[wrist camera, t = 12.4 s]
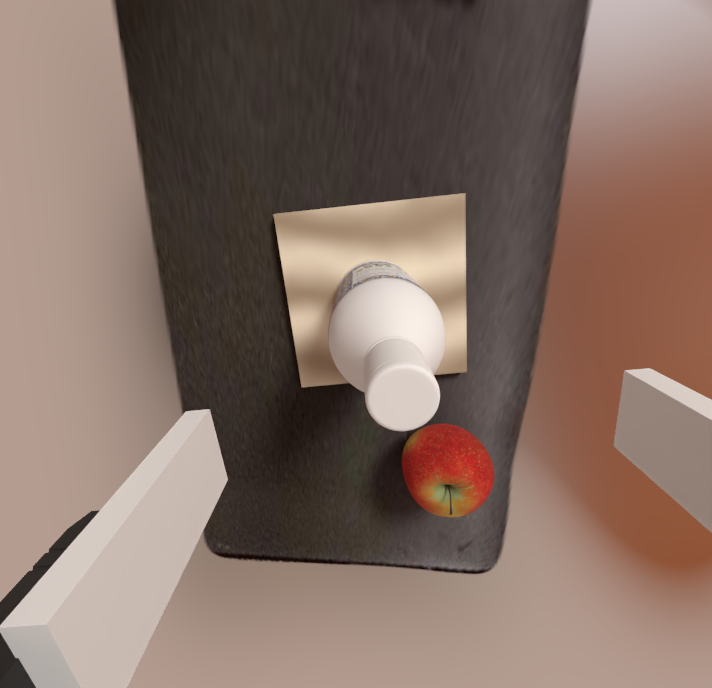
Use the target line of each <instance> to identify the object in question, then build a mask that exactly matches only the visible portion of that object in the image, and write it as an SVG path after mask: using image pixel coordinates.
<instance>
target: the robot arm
mask: <svg viewBox="0 0 712 688" xmlns="http://www.w3.org/2000/svg"><path fill="white" fill-rule="evenodd" d="M614 447H615V448H616V449H617V450H618V451H620V452H621V453H622V454H623V455H624V456H625V457H627V458H628V459H629V460H630V461H631V462H632V463H633V464H634V465H635V466H637V467H638V468H639V469H640V470H641V471H642V472H644V473H645V474H646V475H647V476H648V477H649V478H650V479H651V480H653V481H654V482H655V483H656V484H657V485H658V486H659V487H660V488H662V489H663V490H664V491H665V492H666V493H667V494H668V495H669V496H671V497H672V498H673V499H674V500H675V501H676V502H677V503H679V504H680V505H681V506H682V507H683V508H684V509H685V510H686V511H688V512H689V513H690V514H691V515H692V516H693V517H694V518H695V519H697V520H698V521H699V522H700V523H701V524H702V525H703V526H704V527H706V528H707V529H708V530H709V531H710V532H712V400H711V399H709V398H707V397H705V396H702V395H701V394H699V393H697V392H695V391H693V390H691V389H689V388H687V387H685V386H683V385H681V384H679V383H678V382H676V381H673V380H672V379H670V378H668V377H666V376H664V375H662V374H660V373H658V372H656V371H654V370H652V369H650V368H646V369H635V370H625V371H624V377H623V384H622V391H621V398H620V405H619V411H618V418H617V425H616V432H615V440H614ZM227 480H228V478H227V475H226V471H225V467H224V463H223V459H222V455H221V451H220V448H219V444H218V440H217V436H216V432H215V428H214V424H213V421H212V417H211V413H210V409H206V410H196V411H186V412H185V413H184V414H183V416H182V417H181V418H180V419H179V420H178V421H177V423H176V424H175V425H174V426H173V427H172V428H171V429H170V431H169V432H168V433H167V434H166V435H165V436H164V437H163V439H162V440H161V441H160V442H159V443H158V444H157V446H156V447H155V448H154V449H153V450H152V451H151V452H150V454H149V455H148V456H147V457H146V458H145V460H143V462H142V463H141V464H140V465H139V466H138V467H137V469H136V470H135V471H134V472H133V473H132V474H131V475H130V477H129V478H128V479H127V480H126V481H125V482H124V483H123V485H122V486H121V487H120V488H119V489H118V490H117V492H116V493H115V494H114V495H113V496H112V497H111V498H110V500H109V501H108V502H107V503H106V504H105V505H104V507H103V508H102V509H101V510H100V511H91V512H90V513H89V514H87V515H86V516H85V517H83V518H82V519H81V520H79V521H78V522H76V523H75V524H74V525H72V526H71V527H70V528H68V529H67V530H66V531H65V532H64V534H63V535H62V536H61V537H60V538H59V539H58V540H57V541H56V542H55V543H54V545H53V546H52V547H51V548H50V549H49V552H48V553H45V554H44V555H43V556H42V557H41V559H40V560H39V561H38V562H37V563H36V564H35V565H34V566H33V570H32V571H29V572H28V573H27V574H26V575H25V576H24V577H23V578H22V579H21V580H20V581H19V582H18V583H17V585H16V586H15V587H14V588H13V589H12V590H11V591H10V592H9V593H8V594H7V596H6V597H5V598H4V599H3V600H2V601H1V602H0V688H127V687H128V685H129V683H130V681H131V679H132V676H133V675H134V672H135V670H136V668H137V666H138V664H139V662H140V660H141V658H142V656H143V654H144V652H145V650H146V647H147V646H148V644H149V641H150V639H151V637H152V635H153V633H154V631H155V629H156V627H157V625H158V623H159V621H160V619H161V617H162V615H163V612H164V611H165V608H166V606H167V604H168V602H169V600H170V598H171V596H172V594H173V592H174V590H175V588H176V586H177V584H178V582H179V579H180V577H181V575H182V573H183V571H184V569H185V567H186V565H187V563H188V561H189V559H190V557H191V555H192V553H193V550H194V549H195V546H196V544H197V542H198V540H199V538H200V536H201V534H202V532H203V530H204V528H205V526H206V524H207V522H208V520H209V518H210V516H211V513H212V511H213V509H214V507H215V505H216V503H217V501H218V499H219V497H220V495H221V493H222V491H223V489H224V487H225V485H226V482H227Z"/></svg>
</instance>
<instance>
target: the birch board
mask: <svg viewBox="0 0 712 688" xmlns="http://www.w3.org/2000/svg"><path fill="white" fill-rule="evenodd" d="M274 221H275V227H276V233H277V239H278V245H279V251H280V258H281V264H282V270H283V276H284V282H285V288H286V294H287V301H288V307H289V313H290V319H291V325H292V331H293V337H294V344H295V350H296V356H297V362H298V368H299V374H300V381H301V387H313V386H323V385H334V384H344V383H349V382H348V381H347V380H346V379H345V378H344V377H343V376H342V374H341V373H340V372H339V370H338V368H337V367H336V365H335V363H334V361H333V358H332V355H331V352H330V348H329V342H328V327H329V322H330V318H331V314H332V310H333V306H334V302H335V298H336V294H337V291H338V288H339V285H340V282H341V280H342V279H343V277H344V276H345V274H346V273H347V272H348V271H349V270H350V269H351V268H353V267H354V266H356V265H357V264H359V263H361V262H364V261H368V260H376V259H377V260H385V261H389V262H392V263H394V264H396V265H398V266H399V267H400V268H402V269H403V270H404V271H405V272H406V273H407V274H408V275H409V276H410V277H411V278H412V279H413V280H415V281H416V282H417V283H418V284H419V285H420V286H421V287H422V288H423V289H424V290H425V291H426V293H427V294H428V295H429V296H430V297H431V298H432V300H433V301H434V302H435V304H436V305H437V307H438V309H439V311H440V313H441V316H442V319H443V322H444V326H445V334H446V342H445V350H444V354H443V358H442V360H441V363H440V365H439V367H438V369H437V370H436V372H435V373H434V375H440V374H450V373H461V372H467V345H466V223H465V193H463V194H454V195H445V196H435V197H426V198H417V199H408V200H399V201H389V202H380V203H371V204H362V205H353V206H343V207H334V208H325V209H316V210H307V211H297V212H288V213H279V214H274Z"/></svg>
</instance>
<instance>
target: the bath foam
mask: <svg viewBox="0 0 712 688" xmlns="http://www.w3.org/2000/svg"><path fill="white" fill-rule="evenodd" d="M328 342H329V348H330V352H331V355H332V358H333V361H334V363H335V365H336V367H337V368H338V370H339V372H340V373H341V374H342V376H343V377H344V378H345V379H346V380H347V381H348V382H349V383H350V384H352V385H353V386H354V387H356V388H357V389H359V390H360V391H362V392H365V401H366V406H367V409H368V411H369V413H370V415H371V416H372V418H373V419H374V420H375V421H376V422H377V423H379V424H380V425H381V426H383V427H385V428H387V429H390V430H394V431H409V430H413V429H416V428H418V427H420V426H422V425H424V424H425V423H427V422H428V421H429V420H430V419H431V418H432V417H433V415H434V414H435V412H436V410H437V408H438V405H439V401H440V390H439V386H438V383H437V381H436V379H435V377H434V373H435V372H436V370H437V369H438V367H439V365H440V363H441V360H442V358H443V354H444V350H445V342H446V334H445V326H444V322H443V319H442V316H441V313H440V311H439V309H438V307H437V305H436V304H435V302H434V301H433V300H432V298H431V297H430V296H429V295H428V294H427V293H426V291H425V290H424V289H423V288H422V287H421V286H420V285H419V284H418V283H417V282H416V281H415V280H413V279H412V278H411V277H410V276H409V275H408V274H407V273H406V272H405V271H404V270H403V269H402V268H400V267H399V266H398V265H396V264H394V263H392V262H389V261H385V260H377V259H376V260H368V261H364V262H361V263H359V264H357V265H356V266H354V267H353V268H351V269H350V270H349V271H348V272H347V273H346V274H345V276H344V277H343V279H342V280H341V282H340V285H339V288H338V291H337V294H336V298H335V302H334V306H333V310H332V314H331V318H330V322H329V327H328Z"/></svg>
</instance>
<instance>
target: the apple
mask: <svg viewBox="0 0 712 688" xmlns="http://www.w3.org/2000/svg"><path fill="white" fill-rule="evenodd" d="M402 469H403V475H404V479H405V482H406V485H407V487H408V489H409V491H410V493H411V495H412V496H413V498H414V499H415V501H416V502H417V503H418V504H419V505H420V506H421V507H422V508H424V509H425V510H427V511H428V512H430V513H432V514H435V515H438V516H443V517H460V516H464V515H467V514H469V513H471V512H473V511H474V510H476V509H477V508H478V507H480V506H481V505H482V504H483V503H484V501H485V500H486V499H487V498H488V496H489V494H490V492H491V490H492V487H493V484H494V468H493V463H492V460H491V458H490V456H489V454H488V452H487V450H486V449H485V447H484V446H483V445H482V443H481V442H480V441H479V440H478V439H477V438H476V437H475V436H474V435H472V434H471V433H469V432H468V431H466V430H464V429H462V428H460V427H458V426H455V425H451V424H433V425H428V426H425V427H423V428H421V429H419V430H417V431H416V432H414V433H413V434H412V435H411V436H410V437H409V439H408V440H407V442H406V444H405V446H404V449H403V453H402Z"/></svg>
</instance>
